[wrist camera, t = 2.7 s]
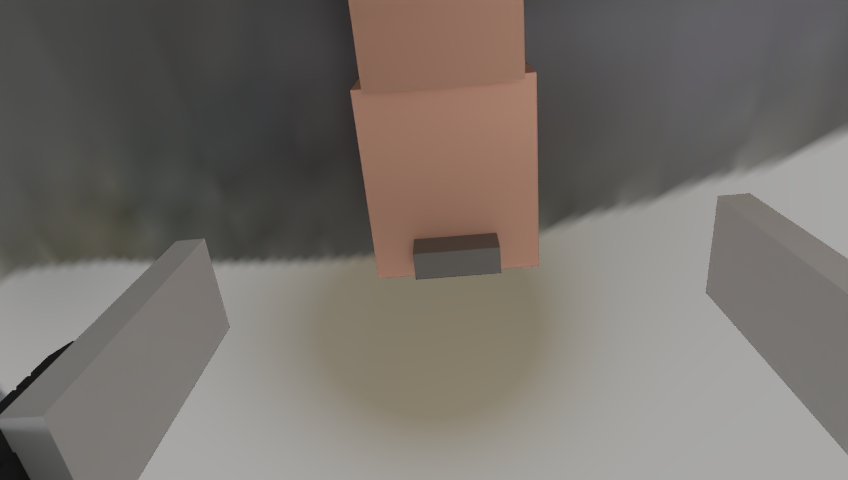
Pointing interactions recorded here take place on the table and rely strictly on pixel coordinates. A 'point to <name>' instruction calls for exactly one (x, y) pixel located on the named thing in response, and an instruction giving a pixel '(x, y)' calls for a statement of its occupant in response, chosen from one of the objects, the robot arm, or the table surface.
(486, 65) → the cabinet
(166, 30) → the table surface
